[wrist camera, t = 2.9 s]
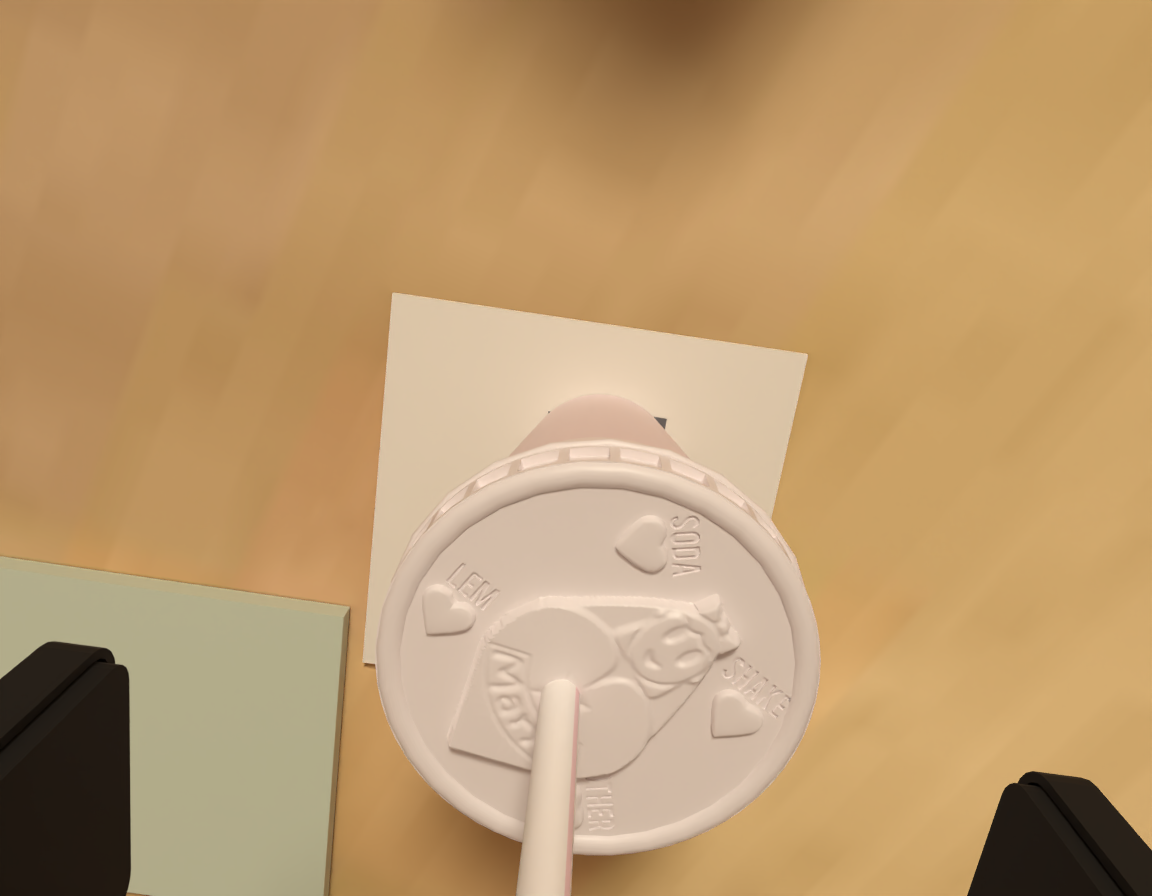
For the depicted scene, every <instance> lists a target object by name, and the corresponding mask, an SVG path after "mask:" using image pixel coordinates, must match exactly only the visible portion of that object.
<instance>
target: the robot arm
mask: <svg viewBox="0 0 1152 896" xmlns="http://www.w3.org/2000/svg"><path fill="white" fill-rule="evenodd" d="M130 876H131V813H130V694H129V672H128V670H127V668H126V667H125V666H124V665H120V664H115V658H114V656H113V654H112V651H110V650H109V649H107V648H102V647H95V646H87V645H80V644H72V643H65V642H57V641H51V642H47V643H45V644H43V645H41V646H40V647H39V648H37V649H36V650H35V651H34V652H32V653H31V654H30V655H29V656H28V657H26V658H25V659H24V660H23V661H22V662H20V663H19V664H18V665H17V666H15V667H14V668H13V669H12V670H11V671H9V672H8V673H7V674H6V675H4V676H3V677H2V678H1V679H0V896H126V893H127V890H128V887H129V882H130ZM967 896H1152V850H1151V849H1150V848H1149V847H1148V846H1147V844H1146V843H1145V842H1144V841H1143V840H1142V839H1141V837H1140V836H1139V835H1138V834H1137V833H1136V832H1135V831H1134V829H1133V828H1132V827H1131V826H1130V825H1129V824H1128V822H1127V821H1126V820H1125V819H1124V818H1123V817H1122V815H1121V814H1120V813H1119V812H1118V811H1117V810H1116V809H1115V807H1114V806H1113V805H1112V804H1111V803H1110V802H1109V800H1108V799H1107V798H1106V797H1105V796H1104V795H1103V793H1102V792H1101V791H1100V790H1099V789H1098V788H1097V787H1096V786H1095V785H1094V784H1093V783H1092V782H1091V781H1089V780H1087V779H1083V778H1079V777H1072V776H1064V775H1057V774H1049V773H1042V772H1034V771H1032V772H1028V773H1025V774H1024V775H1023V776H1022V777H1021V778H1020V780H1019V781H1018V783H1013V784H1009V785H1008V786H1007V787H1006V788H1005V789H1004V791H1003V793H1002V796H1001V799H1000V802H999V804H998V807H997V810H996V813H995V816H994V819H993V822H992V825H991V828H990V831H989V834H988V837H987V839H986V842H985V845H984V848H983V851H982V854H981V857H980V860H979V863H978V866H977V869H976V872H975V874H974V877H973V880H972V883H971V886H970V889H969V892H968V895H967Z"/></svg>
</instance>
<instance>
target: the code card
mask: <svg viewBox="0 0 1152 896" xmlns="http://www.w3.org/2000/svg"><path fill="white" fill-rule="evenodd" d="M807 357H808V355H807V354H806V353H799V352H792V351H785V350H779V349H772V348H765V347H758V346H752V345H745V344H738V343H732V342H725V341H718V340H711V339H705V338H698V337H691V336H684V335H678V334H671V333H664V332H658V331H651V330H644V329H637V328H631V327H624V326H617V325H610V324H604V323H597V322H590V321H584V320H577V319H570V318H563V317H557V316H550V315H543V314H537V313H530V312H523V311H516V310H510V309H503V308H496V307H489V306H483V305H476V304H469V303H463V302H456V301H449V300H442V299H436V298H429V297H422V296H415V295H409V294H402V293H395V292H394V293H392V304H391V317H390V329H389V341H388V354H387V366H386V378H385V391H384V403H383V416H382V428H381V440H380V453H379V465H378V478H377V490H376V502H375V515H374V527H373V540H372V552H371V564H370V577H369V589H368V602H367V614H366V626H365V639H364V651H363V662H364V663H371V664H375V646H376V637H377V628H378V623H379V619H380V614H381V610H382V606H383V603H384V601H385V598H386V595H387V592H388V589H389V587H390V585H391V580H392V578H393V576H394V574H395V572H396V569H397V567H398V565H399V563H400V561H401V558H402V556H403V554H404V552H405V550H406V547H407V545H408V543H409V541H410V539H411V536H412V534H413V533H414V532H415V530H416V529H417V528H418V527H419V526H420V525H421V523H422V522H423V521H424V520H425V519H426V518H427V516H428V515H429V514H430V513H431V512H432V511H433V509H434V508H435V507H436V506H437V505H438V504H439V503H440V501H441V500H442V499H443V498H444V497H445V496H446V494H447V493H448V492H450V491H451V490H453V489H454V488H456V487H457V486H459V485H460V484H462V483H463V482H465V481H466V480H468V479H469V478H471V477H472V476H474V475H475V474H477V473H478V472H480V471H481V470H483V469H484V468H486V467H487V466H489V465H490V464H492V463H493V462H495V461H497V460H500V459H503V458H506V457H509V455H510V454H511V453H512V452H513V451H514V450H515V449H516V448H517V447H518V446H519V445H520V443H521V442H522V441H523V440H524V439H525V438H526V437H527V436H528V435H529V434H530V433H531V431H532V430H533V429H534V428H535V427H536V426H537V425H538V424H539V423H540V422H541V421H542V419H543V418H544V417H545V416H546V415H547V414H548V413H550V412H551V411H552V410H553V409H555V408H556V407H558V406H559V405H561V404H563V403H564V402H566V401H569V400H571V399H574V398H577V397H581V396H585V395H593V394H605V395H613V396H618V397H621V398H624V399H627V400H630V401H632V402H634V403H636V404H638V405H639V406H641V407H642V408H644V409H645V410H646V411H648V412H649V413H650V414H651V415H652V416H653V417H654V418H655V419H656V420H657V421H658V423H659V424H660V425H661V426H662V427H663V428H664V430H665V431H666V432H667V433H668V434H669V435H670V436H671V438H672V439H673V440H674V441H675V442H676V443H677V444H678V446H679V447H680V448H681V449H682V450H683V451H684V453H685V454H686V455H687V456H688V457H689V458H690V459H691V460H693V461H695V462H697V463H699V464H701V465H703V466H705V467H708V468H710V469H712V470H714V471H716V472H718V473H720V474H722V475H724V476H725V477H726V478H727V479H728V480H729V481H731V482H732V483H733V484H734V485H735V486H736V487H738V488H739V489H740V490H741V491H742V492H743V493H745V494H746V495H747V496H748V497H749V498H750V499H752V500H753V501H754V502H755V503H756V504H758V505H759V506H760V507H761V508H762V509H763V510H765V511H766V513H767V514H768V516H769V517H770V519H771V517H772V512H773V508H774V504H775V499H776V495H777V490H778V486H779V481H780V477H781V473H782V468H783V464H784V459H785V455H786V450H787V446H788V441H789V437H790V433H791V428H792V424H793V419H794V415H795V410H796V406H797V402H798V397H799V393H800V388H801V384H802V379H803V375H804V370H805V366H806V362H807Z"/></svg>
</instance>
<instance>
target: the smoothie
mask: <svg viewBox="0 0 1152 896" xmlns="http://www.w3.org/2000/svg"><path fill="white" fill-rule="evenodd" d="M820 663H821V659H820V641H819V635H818V629H817V623H816V619H815V616H814V612H813V609H812V605H811V602H810V599H809V597H808V594H807V592H806V589H805V586H804V582H803V579H802V576H801V572H800V569H799V566H798V563H797V559H796V556H795V555H794V553H793V552H792V550H791V549H790V547H789V546H788V544H787V543H786V541H785V540H784V538H783V537H782V535H781V534H780V532H779V531H778V529H777V528H776V526H775V525H774V523H773V522H772V520H771V519H770V517H769V516H768V514H767V513H766V511H765V510H763V509H762V508H761V507H760V506H759V505H758V504H756V503H755V502H754V501H753V500H752V499H750V498H749V497H748V496H747V495H746V494H745V493H743V492H742V491H741V490H740V489H739V488H738V487H736V486H735V485H734V484H733V483H732V482H731V481H729V480H728V479H727V478H726V477H725V476H724V475H722V474H720V473H718V472H716V471H714V470H712V469H710V468H708V467H705V466H703V465H701V464H699V463H697V462H695V461H693V460H691V459H690V458H689V457H688V456H687V455H686V454H685V453H684V451H683V450H682V449H681V448H680V447H679V446H678V444H677V443H676V442H675V441H674V440H673V439H672V438H671V436H670V435H669V434H668V433H667V432H666V431H665V430H664V428H663V427H662V426H661V425H660V424H659V423H658V421H657V420H656V419H655V418H654V417H653V416H652V415H651V414H650V413H649V412H648V411H646V410H645V409H644V408H642V407H641V406H639V405H638V404H636V403H634V402H632V401H630V400H627V399H624V398H621V397H618V396H613V395H605V394H593V395H585V396H581V397H577V398H574V399H571V400H569V401H566V402H564V403H563V404H561V405H559V406H558V407H556V408H555V409H553V410H552V411H551V412H550V413H548V414H547V415H546V416H545V417H544V418H543V419H542V421H541V422H540V423H539V424H538V425H537V426H536V427H535V428H534V429H533V430H532V431H531V433H530V434H529V435H528V436H527V437H526V438H525V439H524V440H523V441H522V442H521V443H520V445H519V446H518V447H517V448H516V449H515V450H514V451H513V452H512V453H511V454H510V455H509V457H506V458H503V459H500V460H497V461H495V462H493V463H492V464H490V465H489V466H487V467H486V468H484V469H483V470H481V471H480V472H478V473H477V474H475V475H474V476H472V477H471V478H469V479H468V480H466V481H465V482H463V483H462V484H460V485H459V486H457V487H456V488H454V489H453V490H451V491H450V492H448V493H447V494H446V496H445V497H444V498H443V499H442V500H441V501H440V503H439V504H438V505H437V506H436V507H435V508H434V509H433V511H432V512H431V513H430V514H429V515H428V516H427V518H426V519H425V520H424V521H423V522H422V523H421V525H420V526H419V527H418V528H417V529H416V530H415V532H414V533H413V534H412V536H411V539H410V541H409V543H408V545H407V547H406V550H405V552H404V554H403V556H402V558H401V561H400V563H399V565H398V567H397V569H396V572H395V574H394V576H393V578H392V580H391V585H390V587H389V589H388V592H387V595H386V598H385V601H384V603H383V606H382V610H381V614H380V619H379V623H378V628H377V637H376V646H375V666H376V675H377V685H378V689H379V694H380V698H381V703H382V706H383V709H384V712H385V715H386V718H387V721H388V723H389V725H390V728H391V730H392V732H393V734H394V736H395V739H396V740H397V742H398V744H399V746H400V747H401V749H402V751H403V752H404V754H405V756H406V757H407V759H408V760H409V761H410V763H411V764H412V765H413V767H414V768H415V770H416V771H417V772H418V773H419V774H420V776H421V777H422V778H423V779H424V780H425V781H426V782H427V783H428V785H429V786H430V787H431V788H432V789H433V790H435V791H436V792H437V793H438V794H439V795H440V796H441V797H442V798H443V799H444V800H445V801H447V802H448V803H449V804H451V805H452V806H453V807H454V808H456V809H457V810H458V811H460V812H461V813H463V814H464V815H466V816H467V817H469V818H470V819H472V820H473V821H475V822H477V823H478V824H480V825H482V826H484V827H486V828H488V829H490V830H492V831H493V832H496V833H498V834H500V835H503V836H505V837H507V838H510V839H512V840H515V841H518V842H521V843H522V849H521V857H520V865H519V873H518V881H517V889H516V896H571V889H572V867H573V854H579V855H610V856H611V855H622V854H632V853H638V852H644V851H651V850H655V849H659V848H663V847H667V846H671V845H674V844H676V843H679V842H682V841H685V840H688V839H691V838H693V837H695V836H698V835H700V834H702V833H704V832H707V831H709V830H711V829H712V828H714V827H716V826H718V825H720V824H721V823H723V822H725V821H727V820H728V819H730V818H731V817H733V816H734V815H736V814H737V813H739V812H740V811H742V810H743V809H744V808H745V807H746V806H748V805H749V804H750V803H751V802H753V801H754V800H755V799H756V798H757V797H758V796H759V795H761V794H762V793H763V792H764V791H765V790H766V789H767V788H768V787H769V786H770V785H771V784H772V782H773V781H774V780H775V779H776V778H777V776H778V775H779V774H780V773H781V772H782V770H783V769H784V768H785V766H786V765H787V763H788V762H789V760H790V759H791V757H792V756H793V754H794V753H795V751H796V749H797V747H798V745H799V744H800V742H801V740H802V738H803V736H804V734H805V731H806V729H807V726H808V724H809V721H810V719H811V716H812V712H813V709H814V705H815V702H816V698H817V692H818V686H819V680H820Z"/></svg>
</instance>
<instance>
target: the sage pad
mask: <svg viewBox="0 0 1152 896" xmlns="http://www.w3.org/2000/svg"><path fill="white" fill-rule="evenodd" d="M349 615H350V607H348V606H341V605H335V604H328V603H321V602H314V601H307V600H300V599H293V598H286V597H279V596H272V595H265V594H258V593H251V592H244V591H237V590H231V589H224V588H217V587H210V586H203V585H196V584H189V583H182V582H175V581H168V580H161V579H154V578H147V577H140V576H134V575H127V574H120V573H113V572H106V571H99V570H92V569H85V568H78V567H71V566H64V565H57V564H50V563H43V562H37V561H30V560H23V559H16V558H9V557H2V556H0V679H1V678H2V677H3V676H4V675H6V674H7V673H8V672H9V671H11V670H12V669H13V668H14V667H15V666H17V665H18V664H19V663H20V662H22V661H23V660H24V659H25V658H26V657H28V656H29V655H30V654H31V653H32V652H34V651H35V650H36V649H37V648H39V647H40V646H41V645H43V644H45V643H47V642H51V641H57V642H65V643H72V644H80V645H87V646H95V647H102V648H107V649H109V650H110V651H112V654H113V656H114V658H115V664H120V665H124V666H125V667H126V668H127V670H128V672H129V694H130V813H131V876H130V882H129V887H128V890H127V892H130V893H137V894H144V895H151V896H329V884H330V870H331V857H332V843H333V830H334V816H335V803H336V789H337V776H338V763H339V749H340V736H341V722H342V709H343V695H344V682H345V668H346V655H347V641H348V628H349Z"/></svg>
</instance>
